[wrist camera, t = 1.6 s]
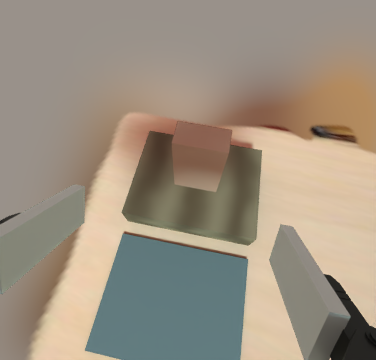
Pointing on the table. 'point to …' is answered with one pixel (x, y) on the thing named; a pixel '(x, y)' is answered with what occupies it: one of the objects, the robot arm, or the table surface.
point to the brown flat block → (196, 195)
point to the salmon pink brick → (199, 155)
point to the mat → (170, 304)
